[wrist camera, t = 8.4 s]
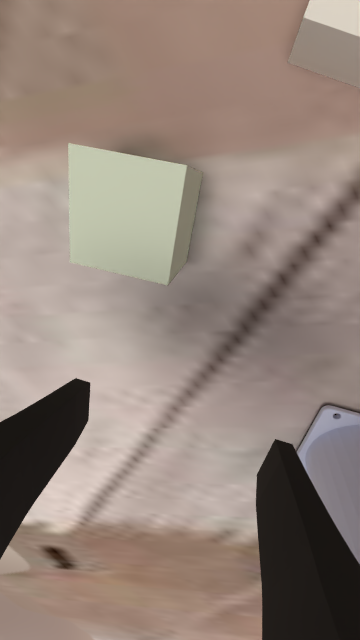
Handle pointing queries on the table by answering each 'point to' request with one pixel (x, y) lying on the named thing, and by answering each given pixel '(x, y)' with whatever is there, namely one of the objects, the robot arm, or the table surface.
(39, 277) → the table surface
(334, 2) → the base block
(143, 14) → the table surface
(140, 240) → the sage cube
